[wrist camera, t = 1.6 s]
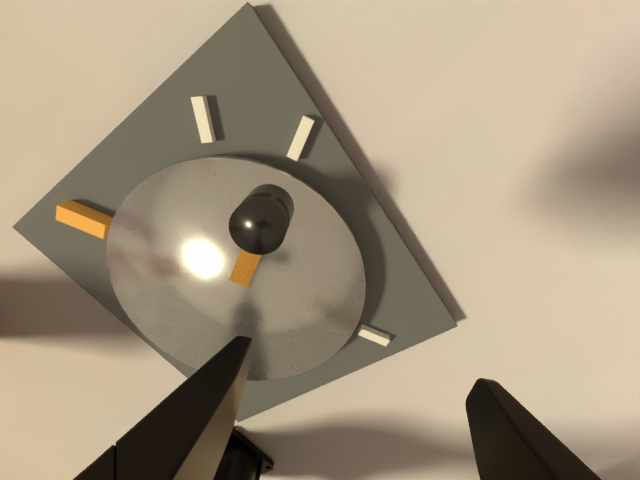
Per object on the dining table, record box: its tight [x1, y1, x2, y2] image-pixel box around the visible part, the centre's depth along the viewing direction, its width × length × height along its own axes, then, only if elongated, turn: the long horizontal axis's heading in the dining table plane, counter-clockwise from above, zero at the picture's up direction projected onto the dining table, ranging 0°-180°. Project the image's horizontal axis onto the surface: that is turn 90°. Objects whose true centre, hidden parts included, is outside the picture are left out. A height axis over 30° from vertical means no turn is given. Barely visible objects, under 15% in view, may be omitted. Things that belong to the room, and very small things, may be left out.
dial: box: [106, 155, 366, 381], centre depth 19 cm, size 16×16×4 cm
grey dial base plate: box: [13, 2, 457, 422], centre depth 21 cm, size 22×20×2 cm
